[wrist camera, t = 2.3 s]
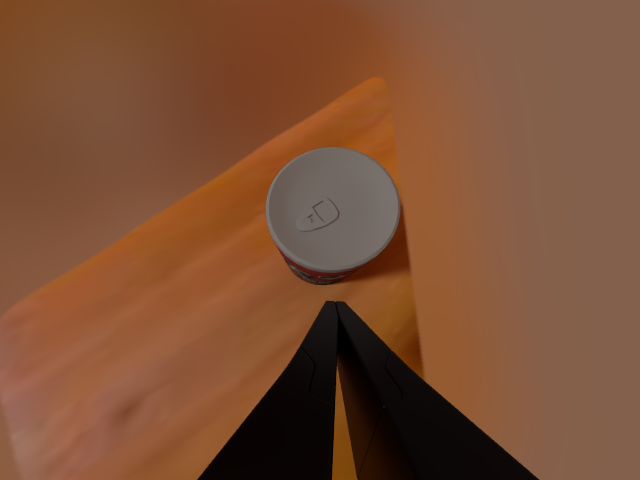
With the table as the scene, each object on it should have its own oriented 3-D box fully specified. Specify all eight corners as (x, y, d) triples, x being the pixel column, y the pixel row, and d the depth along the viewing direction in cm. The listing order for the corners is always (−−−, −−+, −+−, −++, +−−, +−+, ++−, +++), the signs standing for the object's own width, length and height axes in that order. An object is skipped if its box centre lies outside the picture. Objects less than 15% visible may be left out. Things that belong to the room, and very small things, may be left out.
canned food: (269, 254, 23) (235, 214, 12) (317, 199, 25) (324, 122, 14) (328, 303, 22) (347, 303, 11) (374, 241, 24) (426, 192, 13)
